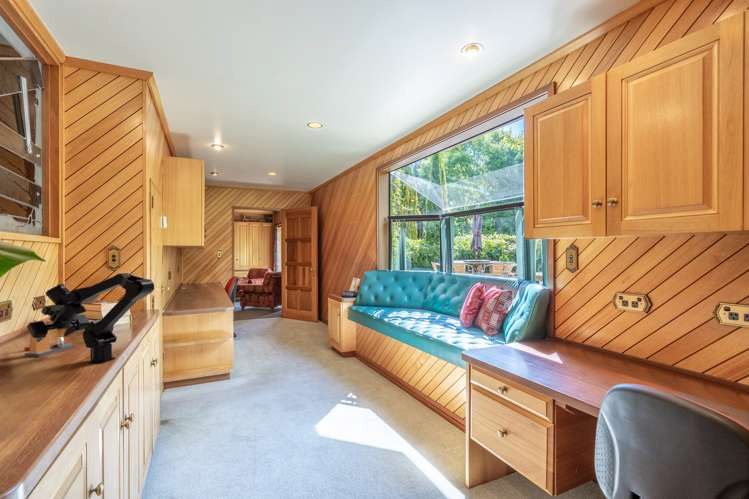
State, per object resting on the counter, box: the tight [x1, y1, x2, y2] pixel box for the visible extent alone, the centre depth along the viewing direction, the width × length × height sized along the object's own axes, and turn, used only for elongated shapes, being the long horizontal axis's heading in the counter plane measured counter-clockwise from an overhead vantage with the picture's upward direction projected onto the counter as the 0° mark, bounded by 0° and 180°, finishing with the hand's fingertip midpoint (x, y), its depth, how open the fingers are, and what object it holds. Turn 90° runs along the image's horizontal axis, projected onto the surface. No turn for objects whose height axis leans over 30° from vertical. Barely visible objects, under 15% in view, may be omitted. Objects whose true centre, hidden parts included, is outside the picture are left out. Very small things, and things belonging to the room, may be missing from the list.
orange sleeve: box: [29, 330, 51, 353], centre depth 145 cm, size 5×5×10 cm
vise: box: [24, 336, 75, 358], centre depth 149 cm, size 7×14×5 cm, turn 170°
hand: (51, 338), depth 142 cm, fingers open, 9 cm apart
